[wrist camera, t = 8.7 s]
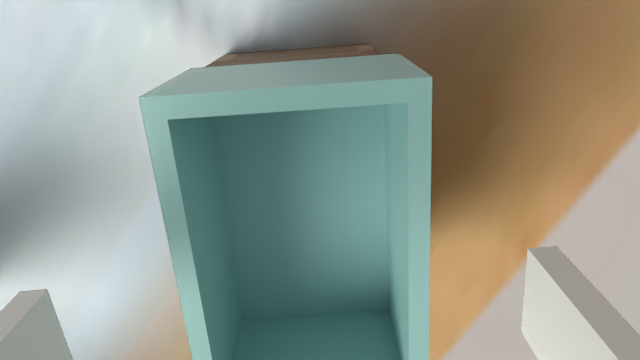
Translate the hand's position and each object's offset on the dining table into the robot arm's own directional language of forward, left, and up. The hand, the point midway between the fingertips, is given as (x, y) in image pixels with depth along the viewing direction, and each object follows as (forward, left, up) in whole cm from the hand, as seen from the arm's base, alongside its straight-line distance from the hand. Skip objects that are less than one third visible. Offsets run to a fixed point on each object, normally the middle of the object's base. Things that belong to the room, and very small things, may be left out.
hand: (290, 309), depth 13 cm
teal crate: (0, 0, -10) cm, 10 cm away
